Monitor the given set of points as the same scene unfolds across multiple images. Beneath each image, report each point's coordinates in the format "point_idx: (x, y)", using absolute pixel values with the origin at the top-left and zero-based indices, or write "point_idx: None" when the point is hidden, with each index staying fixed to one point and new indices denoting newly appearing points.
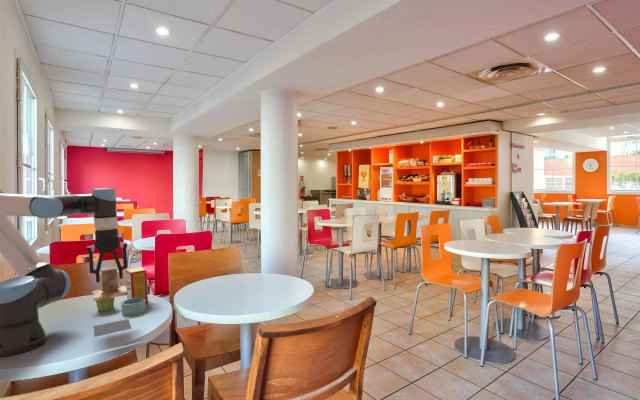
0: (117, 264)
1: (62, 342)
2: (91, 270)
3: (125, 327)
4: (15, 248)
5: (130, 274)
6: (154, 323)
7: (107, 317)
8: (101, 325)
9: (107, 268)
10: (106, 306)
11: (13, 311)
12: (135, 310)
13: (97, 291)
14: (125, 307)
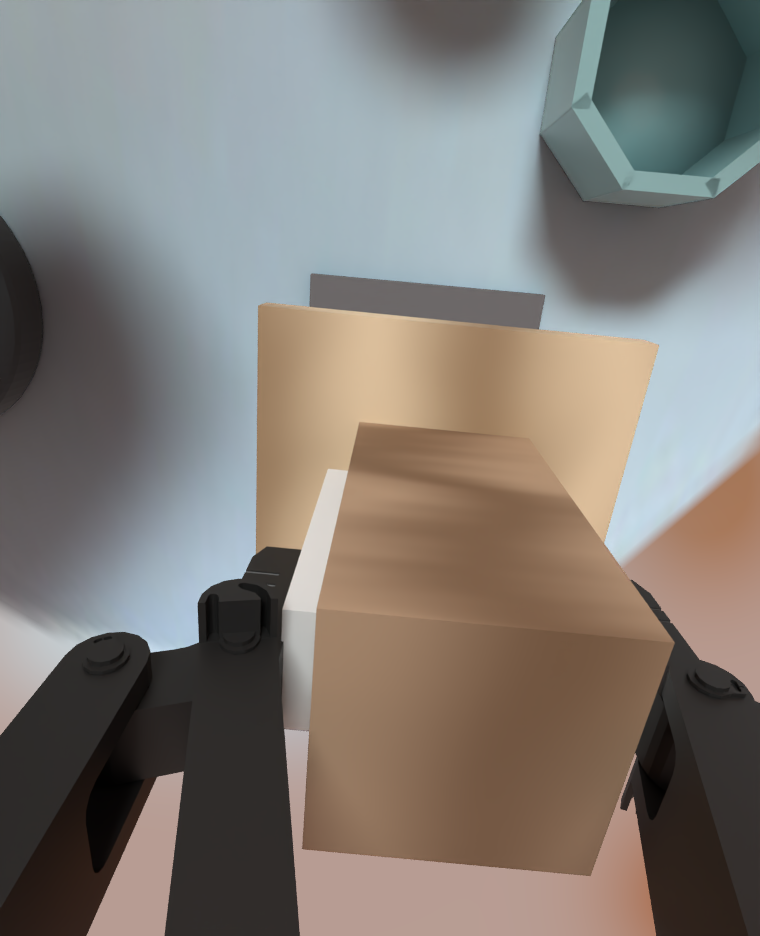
0: (669, 914)
1: (142, 415)
2: (102, 798)
3: None
4: None
5: None
6: (645, 492)
7: (431, 65)
8: (359, 301)
9: (443, 730)
10: None
11: None
12: (642, 199)
13: (304, 381)
14: (584, 148)
